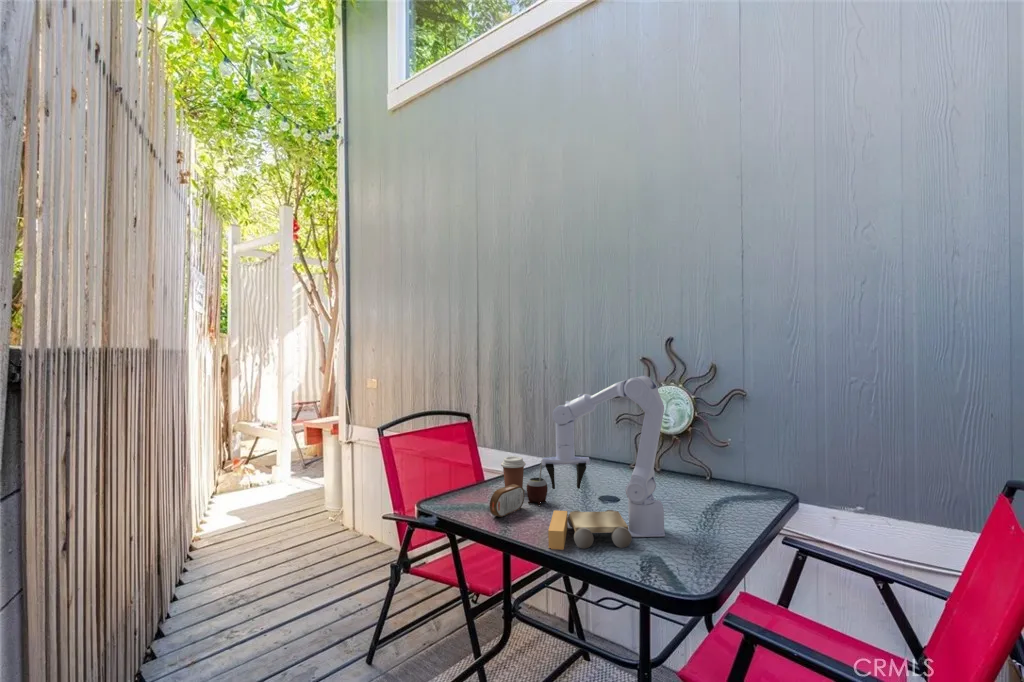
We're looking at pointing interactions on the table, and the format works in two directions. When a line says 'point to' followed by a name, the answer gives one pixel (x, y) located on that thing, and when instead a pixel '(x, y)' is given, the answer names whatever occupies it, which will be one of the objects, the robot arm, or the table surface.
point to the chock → (558, 530)
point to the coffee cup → (513, 470)
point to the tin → (506, 500)
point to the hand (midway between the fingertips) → (565, 488)
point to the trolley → (599, 527)
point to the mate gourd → (537, 489)
